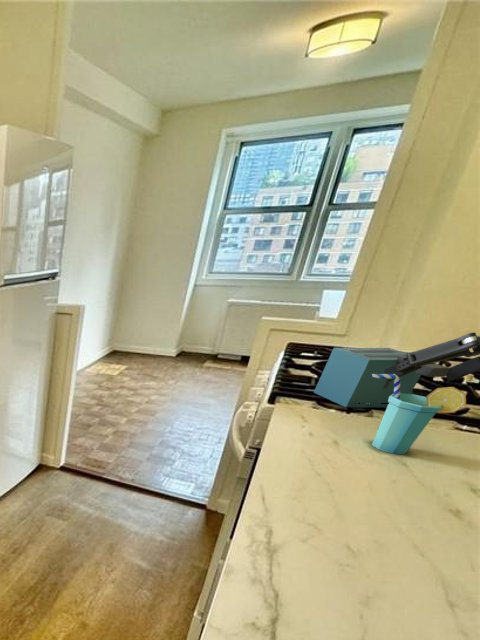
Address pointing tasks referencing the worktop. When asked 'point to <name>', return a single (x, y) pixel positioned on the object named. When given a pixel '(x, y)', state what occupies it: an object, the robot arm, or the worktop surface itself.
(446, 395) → the cup
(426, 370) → the toaster lever
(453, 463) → the worktop surface
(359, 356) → the toaster
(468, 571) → the worktop surface
